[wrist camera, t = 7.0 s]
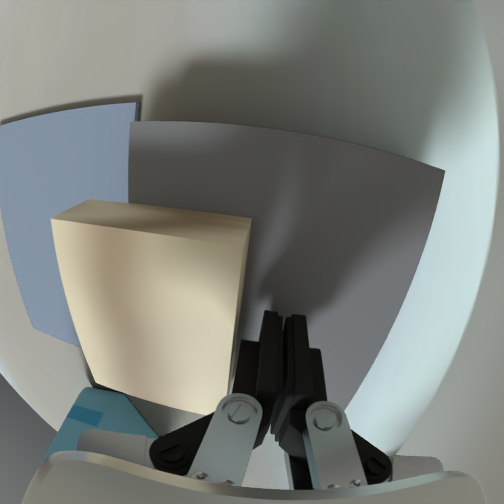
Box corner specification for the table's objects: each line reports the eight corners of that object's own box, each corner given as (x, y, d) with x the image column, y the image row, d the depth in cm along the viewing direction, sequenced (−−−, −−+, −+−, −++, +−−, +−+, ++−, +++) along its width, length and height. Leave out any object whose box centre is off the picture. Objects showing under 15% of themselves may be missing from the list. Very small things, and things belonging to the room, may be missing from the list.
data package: (86, 380, 22) (36, 470, 11) (120, 386, 21) (71, 490, 10) (136, 439, 27) (109, 513, 16) (167, 445, 26) (143, 526, 15)
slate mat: (139, 102, 12) (136, 102, 11) (152, 366, 19) (150, 369, 19) (-1, 125, 12) (-4, 126, 12) (35, 325, 20) (33, 327, 19)
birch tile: (252, 218, 10) (243, 246, 8) (231, 381, 14) (224, 418, 12) (88, 199, 10) (50, 218, 8) (114, 352, 14) (95, 382, 12)
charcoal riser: (408, 158, 12) (445, 170, 8) (331, 384, 18) (336, 422, 15) (164, 121, 12) (130, 121, 9) (169, 362, 19) (154, 398, 16)
